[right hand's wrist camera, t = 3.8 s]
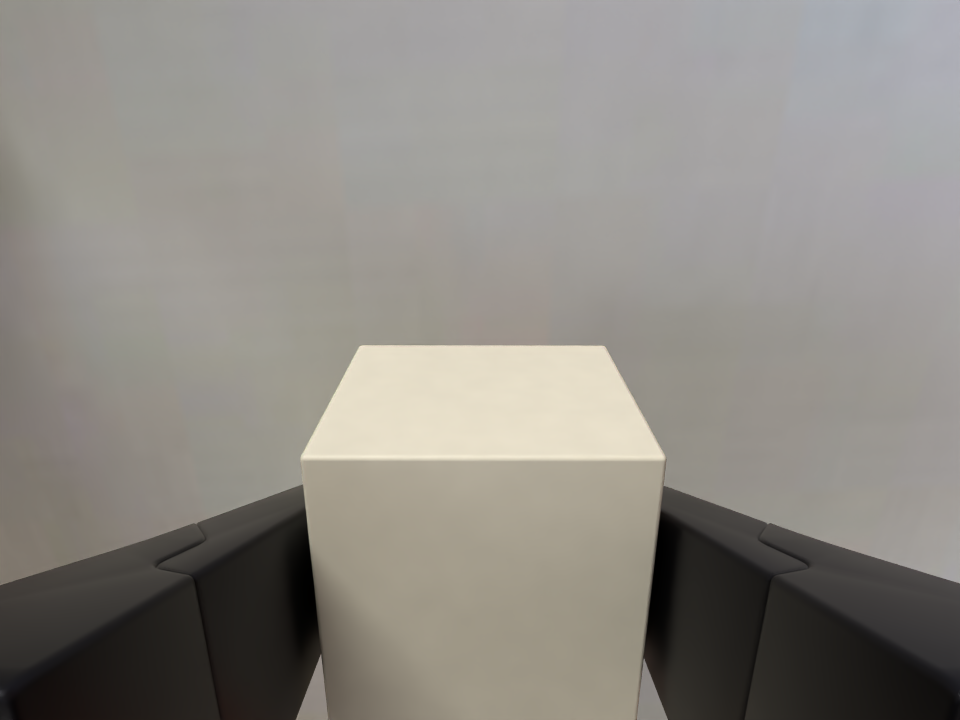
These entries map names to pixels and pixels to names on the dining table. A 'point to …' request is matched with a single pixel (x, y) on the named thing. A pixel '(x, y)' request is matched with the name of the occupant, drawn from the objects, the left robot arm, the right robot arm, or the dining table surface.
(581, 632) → the block
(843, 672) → the right robot arm
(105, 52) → the dining table surface
